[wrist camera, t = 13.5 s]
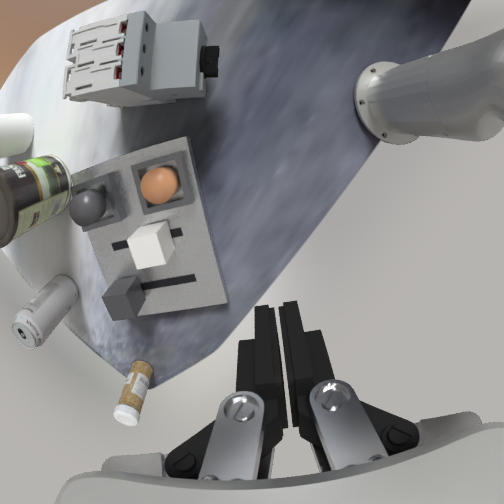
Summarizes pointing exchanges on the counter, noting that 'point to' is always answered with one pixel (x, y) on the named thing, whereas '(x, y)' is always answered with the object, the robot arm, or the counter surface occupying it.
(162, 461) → the robot arm
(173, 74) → the circuit breaker
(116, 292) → the slider black
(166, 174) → the button orange
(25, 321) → the energy drink can
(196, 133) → the counter surface
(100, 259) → the panel
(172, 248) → the slider white
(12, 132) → the cylindrical container
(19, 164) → the coffee can
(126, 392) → the sprinkles bottle
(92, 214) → the button black
